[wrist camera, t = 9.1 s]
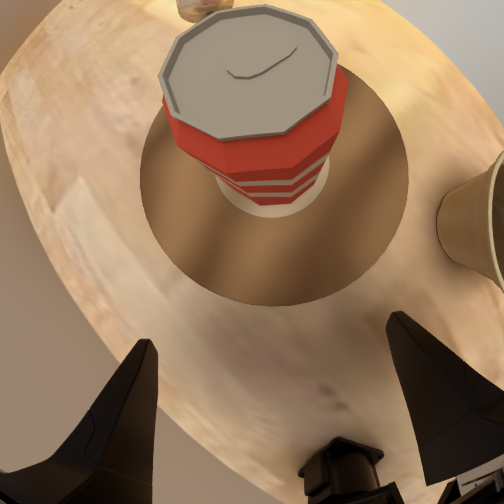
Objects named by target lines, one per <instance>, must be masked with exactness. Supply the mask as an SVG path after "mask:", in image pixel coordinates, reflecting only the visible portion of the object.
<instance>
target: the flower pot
mask: <svg viewBox="0 0 504 504" xmlns="http://www.w3.org/2000/svg"><path fill="white" fill-rule="evenodd" d="M437 232H438V237H439V240H440V243H441V246H442V248H443V250H444V251H445V253H446V254H447V255H448V256H449V257H450V258H451V259H452V260H454V261H455V262H457V263H459V264H462V265H464V266H466V267H468V268H470V269H472V270H474V271H476V272H478V273H480V274H482V275H484V276H486V277H488V278H489V279H491V280H493V281H494V282H495V284H496V285H497V286H498V287H499V288H501V290H502V292H503V293H504V151H503V152H502V153H501V154H500V155H499V156H498V157H497V159H496V161H495V162H494V163H493V164H492V165H491V166H490V168H489V169H488V171H486V172H484V173H482V174H481V175H479V176H477V177H476V178H474V179H472V180H470V181H469V182H467V183H465V184H463V185H461V186H459V187H457V188H455V189H453V190H451V191H450V192H449V193H448V194H446V196H445V197H444V199H443V202H442V204H441V207H440V209H439V212H438V215H437Z"/></svg>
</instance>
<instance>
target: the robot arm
mask: <svg viewBox="0 0 504 504" xmlns="http://www.w3.org/2000/svg"><path fill="white" fill-rule="evenodd" d="M386 334H387V338H388V342H389V346H390V350H391V354H392V359H393V362H394V366H395V369H396V372H397V375H398V378H399V381H400V384H401V387H402V390H403V394H404V397H405V400H406V403H407V407H408V410H409V414H410V417H411V421H412V425H413V428H414V432H415V436H416V440H417V444H418V449H419V453H420V457H421V462H422V467H423V472H424V477H425V482H426V486H429V485H432V484H435V483H439V482H441V481H444V480H447V479H450V478H453V477H456V478H455V479H454V480H452V481H450V482H449V483H447V486H446V488H445V490H444V492H443V494H442V496H441V498H440V499H439V501H438V503H437V504H504V391H503V390H501V389H500V388H499V387H497V386H496V385H494V384H493V383H492V382H490V381H489V380H487V379H486V378H485V377H483V376H482V375H481V374H479V373H478V372H477V371H475V370H474V369H473V368H472V367H470V366H469V365H468V364H467V363H466V362H465V361H463V360H462V359H461V358H460V357H459V356H457V355H456V354H455V353H454V352H453V351H451V350H450V349H449V348H448V347H447V346H445V345H444V344H443V343H442V342H441V341H439V340H438V339H437V338H436V337H434V336H433V335H432V334H431V333H429V332H428V331H427V330H426V329H424V328H423V327H422V326H421V325H419V324H418V323H417V322H416V321H414V320H413V319H412V318H411V317H409V316H408V315H407V314H405V313H404V312H403V311H395V312H392V313H391V315H390V317H389V320H388V322H387V324H386ZM157 400H158V353H157V350H156V348H155V346H154V345H153V343H152V341H151V340H150V339H139V340H138V341H137V343H136V344H135V345H134V347H133V348H132V349H131V351H130V352H129V354H128V355H127V356H126V358H125V359H124V360H123V362H122V363H121V365H120V366H119V367H118V369H117V370H116V371H115V373H114V374H113V376H112V377H111V378H110V380H109V381H108V383H107V384H106V385H105V387H104V389H103V390H102V391H101V393H100V394H99V396H98V397H97V398H96V400H95V401H94V403H93V404H92V406H91V407H90V409H89V410H88V411H87V413H86V414H85V416H84V417H83V418H82V420H81V421H80V423H79V424H78V425H77V427H76V428H75V429H74V430H73V432H72V433H71V434H70V435H69V437H68V438H67V439H66V440H65V441H64V442H63V444H62V445H61V446H60V447H59V448H58V449H57V451H56V452H55V453H54V454H53V455H52V456H51V457H49V458H48V459H46V460H45V461H42V462H40V463H37V464H35V465H32V466H29V467H26V468H24V469H20V470H18V471H15V472H11V473H7V472H5V471H3V470H1V469H0V504H152V475H153V452H154V435H155V422H156V409H157ZM337 442H339V443H337ZM379 455H380V456H379ZM383 457H384V453H383V451H380V450H376V449H373V448H370V447H366V446H363V445H360V444H357V443H354V442H351V441H348V440H345V439H343V438H335V439H334V440H333V441H332V442H331V443H330V444H329V445H328V446H326V447H325V448H324V449H323V450H322V451H321V452H319V453H318V454H317V455H316V456H315V457H314V458H313V459H312V460H310V461H309V462H308V463H307V464H306V465H305V466H304V467H303V468H302V469H301V470H299V472H298V476H299V477H301V478H304V493H305V496H308V504H404V501H403V499H402V497H401V495H400V492H399V490H398V488H397V486H396V483H395V481H394V482H391V483H389V485H386V486H383V487H381V486H380V483H379V479H378V476H377V472H376V469H375V466H374V465H375V464H376V463H378V462H379V461H380V460H381V459H382V458H383ZM303 473H304V474H303Z"/></svg>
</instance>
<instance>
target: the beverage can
mask: <svg viewBox="0 0 504 504" xmlns="http://www.w3.org/2000/svg"><path fill="white" fill-rule="evenodd" d="M337 60H338V52H337V51H336V50H335V48H334V47H333V46H332V44H331V43H330V42H329V40H328V39H327V38H326V36H325V35H324V34H323V32H322V31H321V30H320V29H319V27H318V26H317V25H316V24H315V23H314V21H313V20H312V19H309V18H307V17H304V16H301V15H299V14H296V13H293V12H290V11H287V10H284V9H280V8H277V7H274V6H270V5H267V4H263V5H254V6H245V7H238V8H231V9H225V10H220V11H216V12H214V13H212V14H211V15H209V16H207V17H206V18H204V19H203V20H201V21H200V22H198V23H196V24H195V25H193V26H192V27H191V28H189V29H188V30H186V31H185V32H183V33H182V34H180V35H179V36H178V37H176V39H175V41H174V43H173V45H172V47H171V49H170V51H169V53H168V55H167V57H166V59H165V61H164V63H163V66H162V68H161V70H160V72H159V75H158V79H159V82H160V85H161V88H162V91H163V100H162V102H163V105H164V109H165V112H166V115H167V118H168V121H169V123H170V126H171V129H172V132H173V135H174V138H175V141H176V144H177V146H178V147H179V148H181V149H182V150H183V151H185V152H186V153H187V154H189V155H190V156H191V157H192V158H194V159H195V160H196V161H198V162H199V163H200V164H202V165H203V166H204V167H205V168H207V169H208V170H209V171H211V172H212V173H213V174H215V175H216V176H217V177H218V178H220V179H221V180H222V181H223V182H225V183H226V184H227V185H229V186H230V187H231V188H232V189H234V190H235V191H237V192H238V193H240V194H241V195H243V196H245V197H246V198H248V199H250V200H251V201H253V202H255V203H256V204H258V205H260V206H265V205H280V204H291V203H292V202H294V201H295V200H296V199H297V198H298V197H300V196H301V195H302V194H303V193H304V192H306V191H307V190H308V189H309V188H311V187H312V186H313V185H314V184H315V182H316V180H317V177H318V175H319V173H320V171H321V169H322V167H323V165H324V163H325V161H326V159H327V157H328V155H329V153H330V151H331V149H332V146H333V144H334V142H335V140H336V138H337V136H338V134H339V132H340V129H341V123H342V118H343V112H344V106H345V100H346V94H347V88H348V80H347V78H346V76H345V75H344V73H343V72H342V70H341V69H340V67H339V66H338V64H337Z"/></svg>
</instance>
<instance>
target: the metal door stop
mask: <svg viewBox="0 0 504 504" xmlns="http://www.w3.org/2000/svg"><path fill="white" fill-rule="evenodd" d="M176 4H177V8H178V12H179V15H180V16H181V17H182V18H183V19H184V20H186V21H188V22H191V23H198V22H200V21H201V20H203V19H204V18H206V17H207V16H209V15H211V14H212V13H214V12H216V11H220V10H225V9H231V8H232V7H233V4H234V0H176Z"/></svg>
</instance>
